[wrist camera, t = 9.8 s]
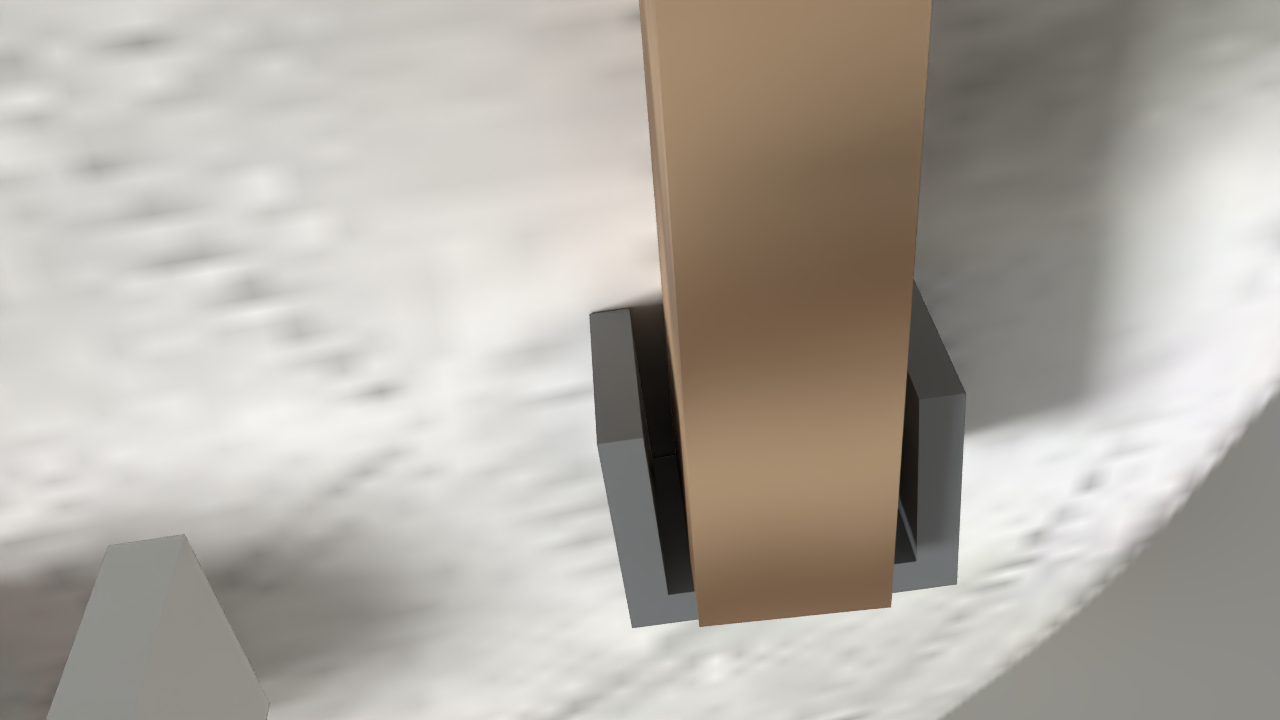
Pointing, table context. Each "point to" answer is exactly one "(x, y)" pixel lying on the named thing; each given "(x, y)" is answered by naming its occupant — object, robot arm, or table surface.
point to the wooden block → (787, 288)
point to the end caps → (653, 493)
